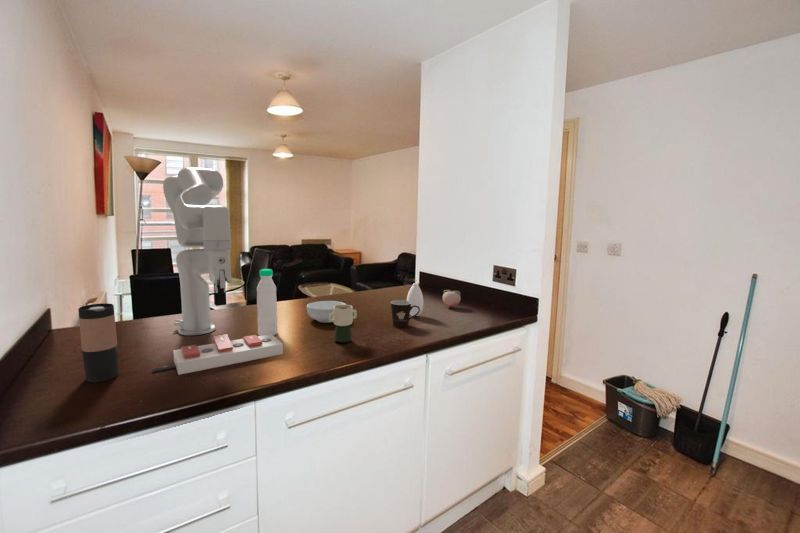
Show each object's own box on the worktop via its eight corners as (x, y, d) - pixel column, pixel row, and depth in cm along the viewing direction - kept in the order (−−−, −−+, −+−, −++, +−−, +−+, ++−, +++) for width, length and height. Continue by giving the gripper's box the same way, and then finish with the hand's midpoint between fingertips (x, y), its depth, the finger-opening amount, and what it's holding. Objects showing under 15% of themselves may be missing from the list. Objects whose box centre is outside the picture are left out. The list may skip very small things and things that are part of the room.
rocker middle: (218, 352, 114) (218, 349, 114) (213, 338, 120) (213, 335, 120) (232, 349, 117) (232, 346, 116) (227, 336, 123) (227, 333, 122)
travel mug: (97, 371, 108) (91, 303, 105) (126, 371, 109) (120, 303, 106) (77, 383, 100) (70, 310, 98) (107, 382, 101) (101, 310, 98)
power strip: (153, 379, 103) (152, 367, 103) (150, 365, 113) (149, 353, 113) (283, 353, 125) (282, 343, 124) (271, 343, 134) (271, 333, 134)
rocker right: (249, 346, 120) (249, 343, 120) (243, 339, 126) (243, 336, 126) (262, 344, 122) (262, 341, 122) (255, 337, 128) (255, 334, 128)
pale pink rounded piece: (441, 309, 188) (442, 289, 187) (442, 305, 196) (443, 286, 195) (460, 310, 187) (461, 290, 185) (460, 306, 195) (461, 287, 193)
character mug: (352, 336, 144) (352, 303, 142) (360, 341, 138) (360, 307, 136) (325, 340, 138) (325, 306, 136) (332, 346, 132) (332, 310, 130)
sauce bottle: (423, 319, 170) (424, 279, 168) (406, 318, 170) (407, 279, 168) (422, 314, 178) (423, 276, 175) (406, 314, 178) (407, 276, 175)
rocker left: (184, 358, 109) (184, 354, 109) (181, 349, 116) (181, 346, 115) (200, 355, 112) (200, 351, 111) (196, 347, 118) (195, 344, 118)
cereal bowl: (353, 319, 167) (354, 303, 166) (327, 328, 153) (327, 311, 152) (325, 313, 176) (325, 298, 175) (298, 321, 162) (298, 305, 161)
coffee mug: (386, 327, 157) (387, 303, 155) (395, 321, 165) (395, 299, 163) (413, 330, 152) (413, 306, 151) (420, 325, 160) (420, 302, 159)
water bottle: (271, 337, 140) (269, 271, 137) (254, 336, 141) (252, 270, 138) (280, 332, 147) (279, 268, 143) (264, 330, 148) (262, 267, 145)
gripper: (236, 247, 112) (238, 307, 114) (225, 244, 124) (228, 299, 126) (208, 248, 108) (211, 311, 110) (199, 245, 120) (203, 302, 122)
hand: (220, 304), depth 118 cm, fingers closed
